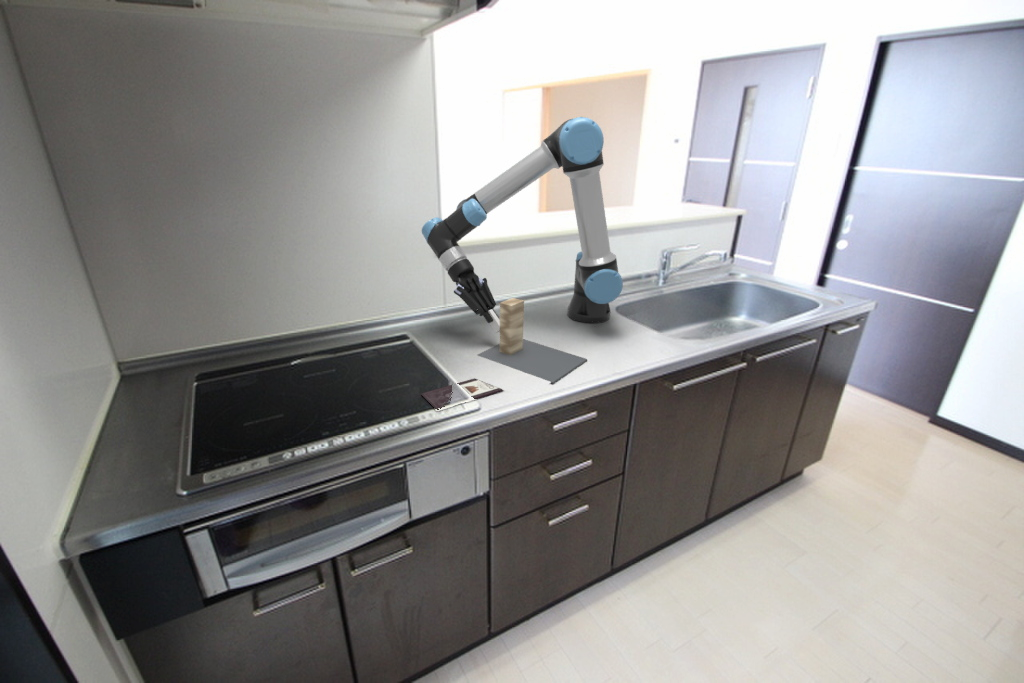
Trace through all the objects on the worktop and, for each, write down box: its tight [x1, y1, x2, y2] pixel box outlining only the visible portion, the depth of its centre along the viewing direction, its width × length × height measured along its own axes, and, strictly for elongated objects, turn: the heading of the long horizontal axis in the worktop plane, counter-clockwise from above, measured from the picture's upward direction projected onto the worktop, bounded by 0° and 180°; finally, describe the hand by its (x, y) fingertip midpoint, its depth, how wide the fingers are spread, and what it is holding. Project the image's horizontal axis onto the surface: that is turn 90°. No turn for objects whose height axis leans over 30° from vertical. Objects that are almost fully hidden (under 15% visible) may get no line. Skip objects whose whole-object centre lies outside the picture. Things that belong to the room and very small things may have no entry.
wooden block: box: [499, 297, 525, 355], centre depth 137 cm, size 4×6×15 cm, turn 143°
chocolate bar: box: [420, 377, 504, 410], centre depth 118 cm, size 9×1×18 cm
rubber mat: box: [477, 338, 588, 385], centre depth 137 cm, size 26×18×1 cm
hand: (500, 330), depth 141 cm, fingers closed
